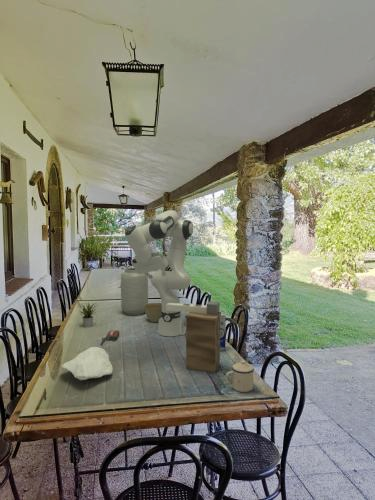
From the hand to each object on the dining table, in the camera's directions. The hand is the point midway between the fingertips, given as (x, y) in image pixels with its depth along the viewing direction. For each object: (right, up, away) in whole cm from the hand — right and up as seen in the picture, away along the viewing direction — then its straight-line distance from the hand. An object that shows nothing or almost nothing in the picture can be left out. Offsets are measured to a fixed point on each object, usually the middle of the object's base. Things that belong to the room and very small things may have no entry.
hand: (157, 276), depth 195 cm
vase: (-24, -33, +81) cm, 91 cm away
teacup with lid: (+38, -45, -39) cm, 70 cm away
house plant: (-49, -36, +48) cm, 78 cm away
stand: (+23, -42, -17) cm, 51 cm away
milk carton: (+32, -40, +7) cm, 52 cm away
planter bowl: (-6, -35, +61) cm, 71 cm away
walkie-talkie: (-30, -39, +22) cm, 54 cm away
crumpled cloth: (-31, -43, -24) cm, 58 cm away
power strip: (+18, -16, -14) cm, 28 cm away
